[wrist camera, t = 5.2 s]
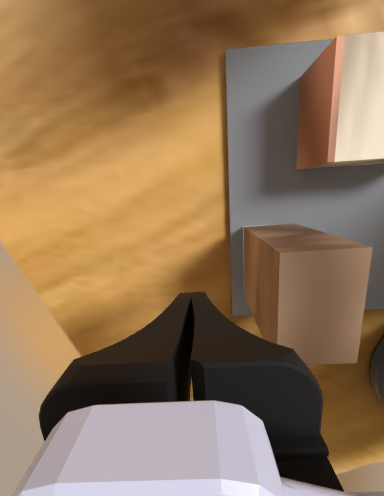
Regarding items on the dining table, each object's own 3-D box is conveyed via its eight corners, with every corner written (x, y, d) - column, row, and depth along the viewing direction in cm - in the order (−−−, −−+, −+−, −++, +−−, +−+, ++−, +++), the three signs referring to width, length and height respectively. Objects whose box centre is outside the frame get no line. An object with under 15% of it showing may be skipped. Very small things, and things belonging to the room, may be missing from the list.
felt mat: (436, 33, 14) (443, 28, 14) (391, 306, 19) (395, 308, 19) (224, 52, 15) (225, 49, 15) (232, 314, 20) (232, 316, 19)
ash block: (300, 77, 15) (421, 66, 15) (296, 169, 16) (406, 161, 16) (336, 35, 11) (503, 20, 11) (327, 162, 12) (474, 151, 12)
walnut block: (293, 223, 17) (372, 247, 10) (290, 292, 19) (357, 363, 11) (242, 226, 17) (279, 252, 10) (243, 295, 19) (276, 366, 11)
